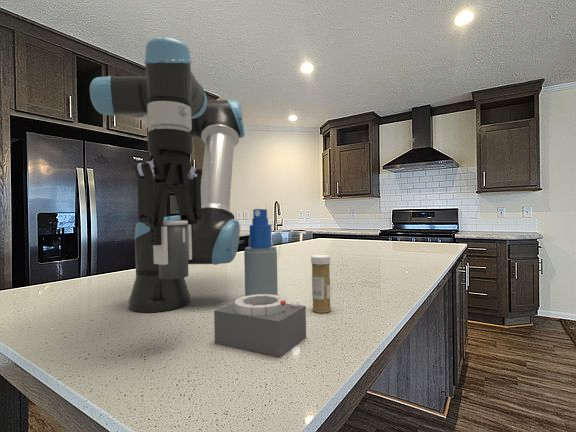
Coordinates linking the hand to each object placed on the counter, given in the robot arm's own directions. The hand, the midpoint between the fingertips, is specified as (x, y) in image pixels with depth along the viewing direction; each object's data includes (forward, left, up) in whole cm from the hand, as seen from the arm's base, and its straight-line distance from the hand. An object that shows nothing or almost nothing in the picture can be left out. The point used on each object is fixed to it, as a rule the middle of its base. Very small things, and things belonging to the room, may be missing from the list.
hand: (173, 261), depth 61 cm
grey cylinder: (0, 0, -3) cm, 3 cm away
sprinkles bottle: (+15, +32, -16) cm, 39 cm away
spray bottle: (-4, +34, -16) cm, 37 cm away
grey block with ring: (+12, +10, -16) cm, 22 cm away
